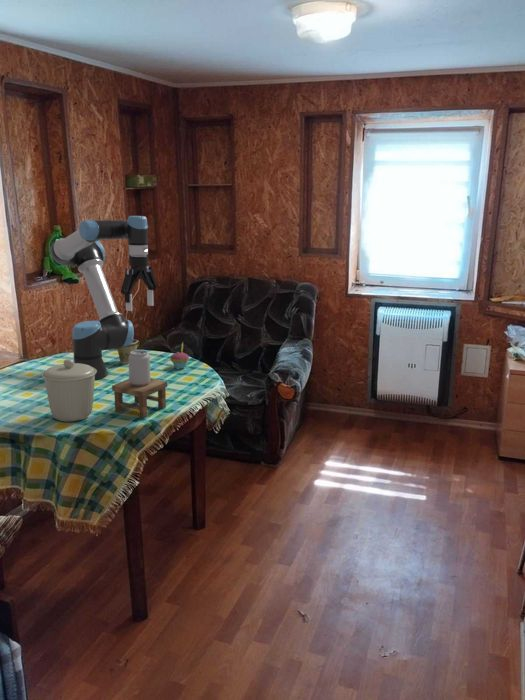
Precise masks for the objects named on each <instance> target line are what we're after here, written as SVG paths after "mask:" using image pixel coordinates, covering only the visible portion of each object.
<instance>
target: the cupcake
mask: <svg viewBox="0 0 525 700" xmlns="http://www.w3.org/2000/svg"><path fill="white" fill-rule="evenodd" d="M183 349H184V342H182V343H181V348H180V352H179V351H177V352H175V353H173V354H171V356H170V360H169V361H171V362H172V364H173V367H174V369H176V368H183V369H185V368H186V365H187V363H188V361H189V360H190V356H189V355H188V354H187V353H185V352H183ZM184 367H185V368H184Z"/></svg>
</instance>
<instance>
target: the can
mask: <svg viewBox="0 0 525 700" xmlns="http://www.w3.org/2000/svg"><path fill="white" fill-rule="evenodd" d="M150 357H151V356H150V354H149V352H148V351H147V350H144V349H136V350H135V351H131V352H130V355H129V364H128V373H129V374H128V379H129V382H130V383H131V384H132V385H134V386H144V385H147V384H148V383H149V382H150V378H151V363H150V362H151V360H150V359H151V358H150Z"/></svg>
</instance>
